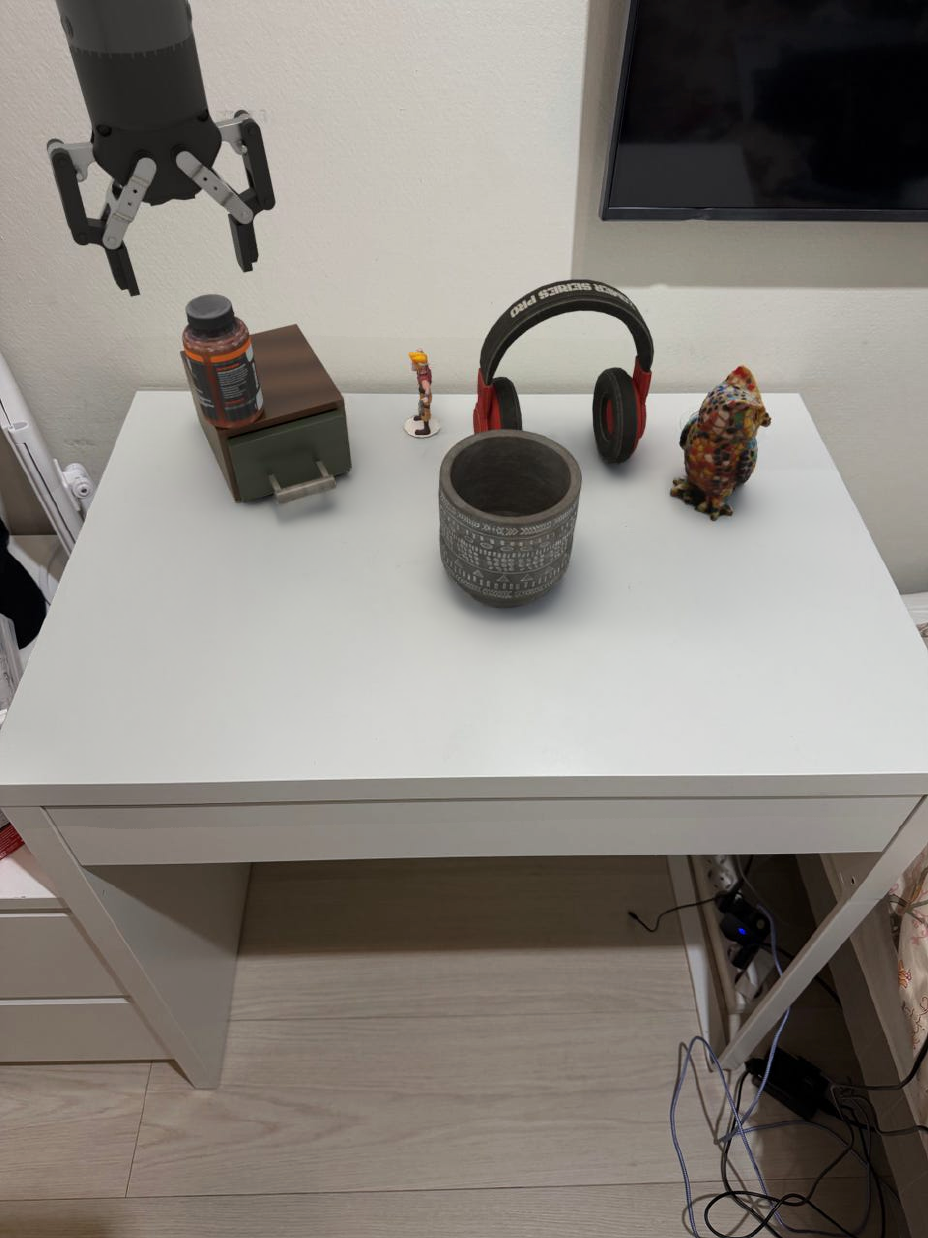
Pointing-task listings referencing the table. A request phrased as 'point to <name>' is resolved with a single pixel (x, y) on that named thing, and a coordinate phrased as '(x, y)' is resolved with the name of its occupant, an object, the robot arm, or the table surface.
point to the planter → (507, 515)
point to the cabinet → (276, 391)
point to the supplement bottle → (222, 363)
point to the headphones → (615, 389)
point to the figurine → (721, 444)
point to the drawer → (290, 457)
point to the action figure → (422, 398)
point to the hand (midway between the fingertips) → (190, 279)
